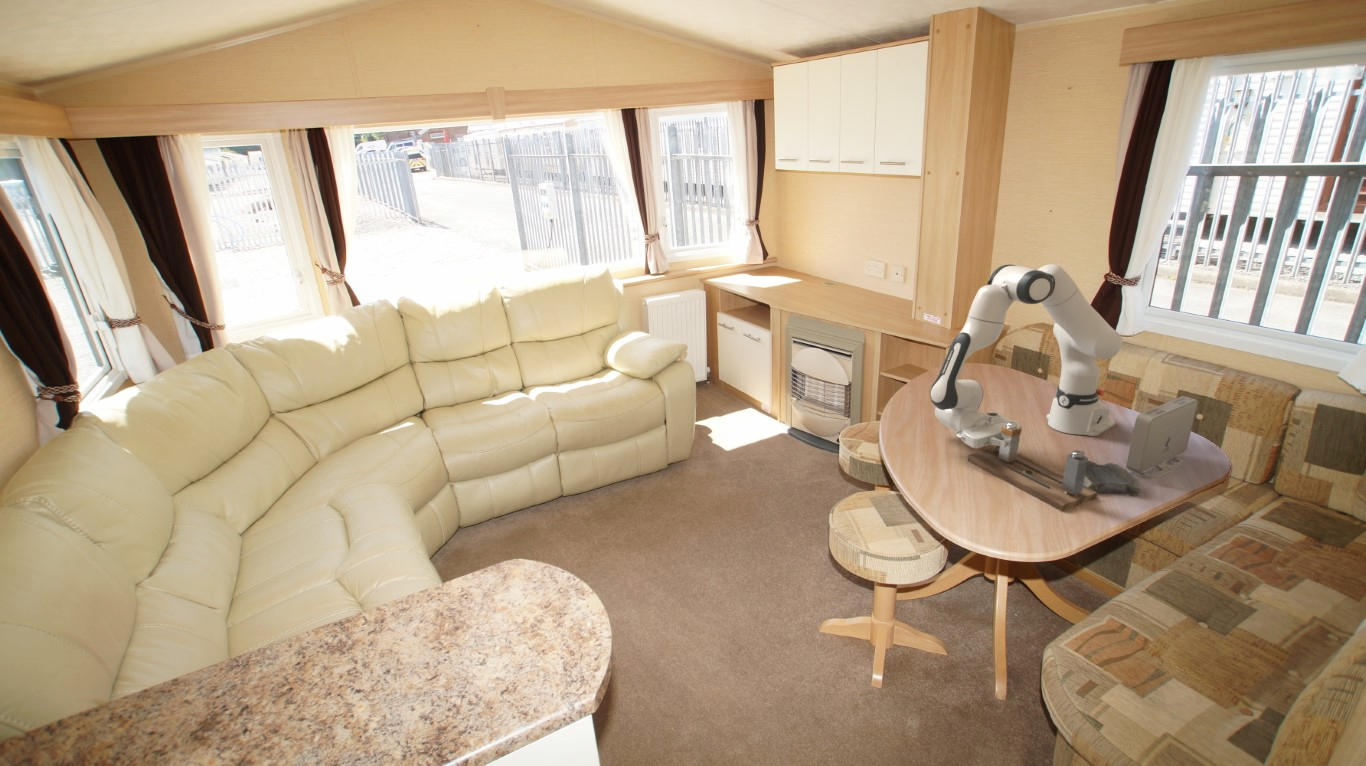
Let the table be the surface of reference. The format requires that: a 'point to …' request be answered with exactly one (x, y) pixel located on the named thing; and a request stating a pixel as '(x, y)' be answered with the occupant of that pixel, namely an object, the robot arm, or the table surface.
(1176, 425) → the network device
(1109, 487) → the fossil
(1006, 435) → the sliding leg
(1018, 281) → the robot arm
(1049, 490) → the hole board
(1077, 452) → the fixed leg
